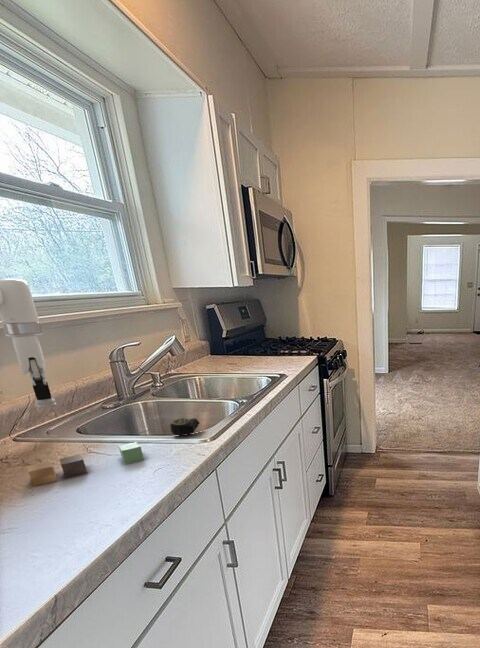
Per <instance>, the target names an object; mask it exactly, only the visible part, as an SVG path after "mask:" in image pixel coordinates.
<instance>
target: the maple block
mask: <svg viewBox="0 0 480 648" xmlns="http://www.w3.org/2000/svg"><path fill="white" fill-rule="evenodd" d="M27 472H28V475H29V478H30V480H31V483H32V486H33V487H37V486H40V485H45V484H50V483H53V482H57V481H58V477H57V473H56V469H55V468H54V465H53V462H52V460H48V461H43V462H39V463H34V464H29V465H28V466H27Z"/></svg>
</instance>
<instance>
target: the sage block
mask: <svg viewBox="0 0 480 648" xmlns="http://www.w3.org/2000/svg"><path fill="white" fill-rule="evenodd" d="M118 449H119V453H120V456H121V459H122V461H123V463H124V464H125V465H127V464H131V463H132V464H133V463H136V462H139V461H140V462H141V461H144V460H145V458H144V454H143V451H142V447H141V444H140V443H139V442H138V441H135V442H131V443H126V444H122V445H121V444H120V445H118Z"/></svg>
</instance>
